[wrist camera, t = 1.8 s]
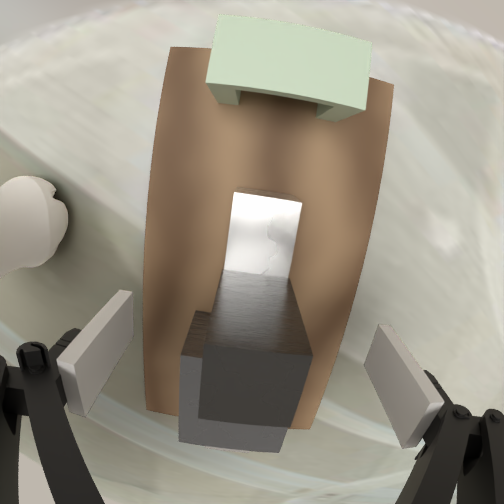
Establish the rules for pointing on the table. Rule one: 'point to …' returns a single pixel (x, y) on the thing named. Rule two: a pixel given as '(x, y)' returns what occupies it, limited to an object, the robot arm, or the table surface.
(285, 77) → the socket block
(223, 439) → the sleeve
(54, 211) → the water bottle
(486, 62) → the table surface
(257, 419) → the rod
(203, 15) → the table surface
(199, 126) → the base board
